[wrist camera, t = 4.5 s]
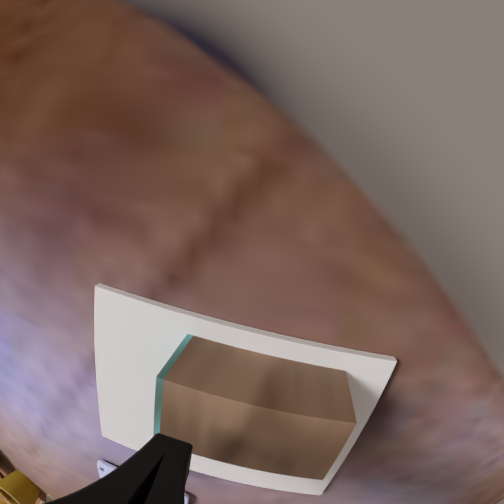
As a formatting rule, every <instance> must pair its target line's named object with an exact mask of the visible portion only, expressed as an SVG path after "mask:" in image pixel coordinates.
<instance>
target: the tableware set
mask: <svg viewBox="0 0 504 504" xmlns="http://www.w3.org/2000/svg"><path fill="white" fill-rule="evenodd" d="M0 494H1V495H2V496H3V497H4V498H5V499H6V500H7V501H8V502H9V503H10V504H35V502H36V500H37V498H38V496H39V494H40V491H39V489H38V488H37V487H36V485H35V484H34V483H33V482H32V481H31V480H30V479H29V478H27V477H26V476H25V475H24V474H22V473H21V472H19V471H17V470H14V471H13V472H12V473H10V474H9V475H7V476H6V477H5V478H4V477H3V476H2V475H1V474H0ZM53 500H55V499H54V498H53V497H52V496H51V495H49V494H46V502H49V501H53ZM46 502H45V501H43V500H41V501H40V504H42V503H46ZM0 504H6V503H5V502H3V501H0Z"/></svg>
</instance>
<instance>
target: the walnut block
mask: <svg viewBox="0 0 504 504" xmlns="http://www.w3.org/2000/svg"><path fill="white" fill-rule="evenodd" d="M356 424H357V422H356V417H355V412H354V407H353V402H352V398H351V393H350V388H349V384H348V379H347V375H346V371H344V370H339V369H333V368H328V367H323V366H317V365H312V364H307V363H303V362H298V361H293V360H288V359H284V358H279V357H275V356H271V355H266V354H262V353H258V352H254V351H250V350H246V349H242V348H238V347H234V346H230V345H226V344H222V343H219V342H215V341H211V340H208V339H204V338H201V337H197V336H194V335H190V334H187V335H186V336H185V338H184V339H183V340H182V342H181V343H180V345H179V346H178V347H177V349H176V350H175V352H174V353H173V354H172V356H171V357H170V358H169V360H168V361H167V363H166V364H165V365H164V367H163V368H162V370H161V371H160V372H159V374H158V375H157V377H156V388H155V406H154V432H153V436H154V435H155V434H157V433H161V434H163V435H166V436H169V437H172V438H175V439H178V440H181V441H184V442H187V443H190V444H191V445H192V446H193V449H192V454H195V455H198V456H201V457H205V458H209V459H212V460H216V461H220V462H224V463H228V464H232V465H236V466H240V467H245V468H249V469H254V470H259V471H264V472H269V473H275V474H281V475H287V476H293V477H300V478H308V479H317V480H323V479H324V478H325V476H326V475H327V473H328V471H329V470H330V468H331V467H332V465H333V464H334V462H335V460H336V459H337V457H338V455H339V454H340V452H341V450H342V449H343V447H344V445H345V443H346V442H347V440H348V438H349V436H350V435H351V433H352V431H353V429H354V427H355V426H356Z"/></svg>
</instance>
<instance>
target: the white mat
mask: <svg viewBox="0 0 504 504" xmlns="http://www.w3.org/2000/svg"><path fill="white" fill-rule="evenodd" d="M187 334H190V335H194V336H197V337H201V338H204V339H208V340H211V341H215V342H219V343H222V344H226V345H230V346H234V347H238V348H242V349H246V350H250V351H254V352H258V353H262V354H266V355H271V356H275V357H279V358H284V359H288V360H293V361H298V362H303V363H307V364H312V365H317V366H323V367H328V368H333V369H339V370H344V371H346V375H347V379H348V384H349V388H350V393H351V398H352V402H353V407H354V412H355V417H356V422H357V424H356V426H355V427H354V429H353V431H352V433H351V435H350V436H349V438H348V440H347V442H346V443H345V445H344V447H343V449H342V450H341V452H340V454H339V455H338V457H337V459H336V460H335V462H334V464H333V465H332V467H331V468H330V470H329V471H328V473H327V475H326V476H325V478H324V479H323V480H317V479H308V478H300V477H293V476H287V475H281V474H275V473H269V472H264V471H259V470H254V469H249V468H245V467H240V466H236V465H232V464H228V463H224V462H220V461H216V460H212V459H209V458H205V457H201V456H198V455H195V454H192V456H191V462H190V470H193V471H196V472H200V473H203V474H207V475H211V476H214V477H218V478H222V479H226V480H230V481H235V482H239V483H244V484H248V485H253V486H258V487H264V488H269V489H275V490H281V491H288V492H295V493H303V494H312V495H321V494H322V493H323V491H324V490H325V488H326V487H327V485H328V484H329V483H330V481H331V480H332V478H333V477H334V475H335V474H336V472H337V471H338V469H339V468H340V466H341V464H342V463H343V461H344V460H345V458H346V457H347V455H348V453H349V452H350V450H351V448H352V447H353V445H354V443H355V442H356V440H357V438H358V437H359V435H360V433H361V431H362V430H363V428H364V426H365V424H366V423H367V421H368V419H369V417H370V415H371V413H372V411H373V410H374V408H375V406H376V404H377V402H378V400H379V398H380V396H381V394H382V392H383V390H384V388H385V386H386V384H387V382H388V380H389V378H390V376H391V373H392V371H393V369H394V367H395V365H396V362H397V361H396V359H395V357H393V356H387V355H381V354H376V353H370V352H364V351H359V350H353V349H348V348H343V347H338V346H333V345H328V344H323V343H318V342H313V341H308V340H304V339H299V338H295V337H290V336H286V335H281V334H277V333H273V332H269V331H264V330H260V329H256V328H252V327H248V326H244V325H240V324H236V323H232V322H228V321H224V320H221V319H217V318H213V317H209V316H206V315H202V314H199V313H195V312H191V311H188V310H184V309H181V308H177V307H174V306H171V305H167V304H164V303H160V302H157V301H154V300H151V299H147V298H144V297H141V296H138V295H135V294H131V293H128V292H125V291H122V290H119V289H116V288H113V287H110V286H107V285H104V284H101V283H99V284H97V285H96V286H95V303H94V336H95V364H96V381H97V394H98V404H99V414H100V422H101V430H102V436H104V437H106V438H108V439H110V440H112V441H115V442H117V443H119V444H122V445H124V446H126V447H129V448H131V449H134V450H136V451H139V450H140V449H141V448H142V447H143V446H144V445H145V444H146V443H147V442H148V441H149V440H150V439H151V438H152V437H153V432H154V406H155V388H156V377H157V375H158V374H159V372H160V371H161V370H162V368H163V367H164V365H165V364H166V363H167V361H168V360H169V358H170V357H171V356H172V354H173V353H174V352H175V350H176V349H177V347H178V346H179V345H180V343H181V342H182V340H183V339H184V338H185V336H186V335H187Z"/></svg>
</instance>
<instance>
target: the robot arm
mask: <svg viewBox="0 0 504 504" xmlns="http://www.w3.org/2000/svg"><path fill="white" fill-rule="evenodd" d="M192 449H193V446H192V445H191V444H190V443H187V442H184V441H181V440H178V439H175V438H172V437H169V436H166V435H163V434H161V433H157V434H155V435H154V436H153V437H152V438H151V439H150V440H149V441H148V442H147V443H146V444H145V445H144V446H143V447H142V448H141V449H140V450H139V451H137V452H136V453H135V454H134V455H133V456H132V457H130V458H129V459H128V460H126V461H125V462H124V463H123V464H121V465H120V466H119V467H116V466H114V465H111V464H109V463H107V462H105V461H103V460H99V461H98V462H97V467H98V471H99V475H100V479H99V480H97V481H96V482H94V483H92V484H90V485H88V486H87V487H85V488H83V489H81V490H78V491H76V492H74V493H71V494H69V495H67V496H64V497H62V498H59V499H56V500H53V501H49V502H46V503H42V504H188V503H189V495H188V494H187V493H185V484H186V480H187V477H188V474H189V469H190V462H191V456H192Z"/></svg>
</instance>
